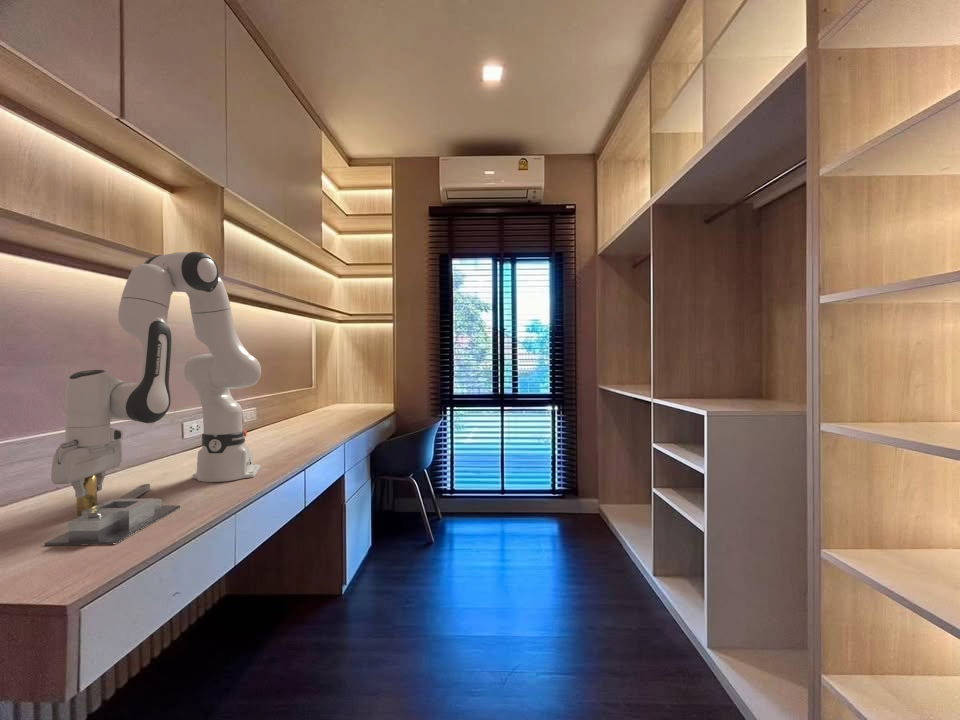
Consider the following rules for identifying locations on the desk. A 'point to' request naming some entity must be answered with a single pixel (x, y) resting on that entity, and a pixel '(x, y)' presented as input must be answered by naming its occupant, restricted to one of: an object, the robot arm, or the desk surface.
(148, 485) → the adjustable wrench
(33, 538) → the desk surface
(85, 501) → the brass pin
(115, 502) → the sliding bolt latch
